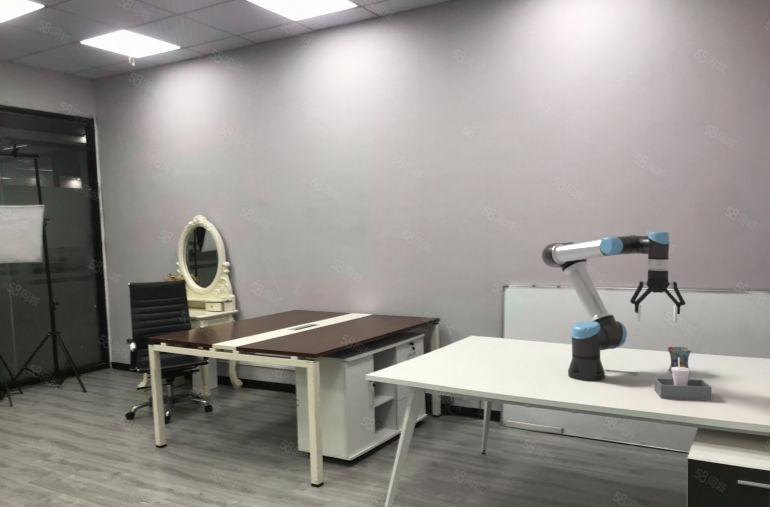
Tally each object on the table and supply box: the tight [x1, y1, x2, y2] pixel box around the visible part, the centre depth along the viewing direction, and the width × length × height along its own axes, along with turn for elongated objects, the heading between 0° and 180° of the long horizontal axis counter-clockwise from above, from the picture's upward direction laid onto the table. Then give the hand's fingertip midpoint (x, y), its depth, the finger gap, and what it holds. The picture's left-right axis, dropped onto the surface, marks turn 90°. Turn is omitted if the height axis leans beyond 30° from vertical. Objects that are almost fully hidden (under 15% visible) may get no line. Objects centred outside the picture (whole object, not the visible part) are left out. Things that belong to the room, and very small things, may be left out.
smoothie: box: [671, 357, 691, 386], centre depth 213 cm, size 6×6×14 cm
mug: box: [667, 346, 692, 373], centre depth 246 cm, size 12×9×11 cm
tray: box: [653, 377, 712, 401], centre depth 213 cm, size 17×10×5 cm, turn 77°
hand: (656, 321), depth 226 cm, fingers open, 13 cm apart
